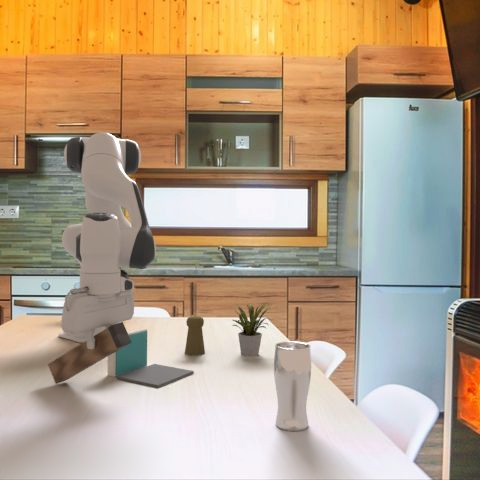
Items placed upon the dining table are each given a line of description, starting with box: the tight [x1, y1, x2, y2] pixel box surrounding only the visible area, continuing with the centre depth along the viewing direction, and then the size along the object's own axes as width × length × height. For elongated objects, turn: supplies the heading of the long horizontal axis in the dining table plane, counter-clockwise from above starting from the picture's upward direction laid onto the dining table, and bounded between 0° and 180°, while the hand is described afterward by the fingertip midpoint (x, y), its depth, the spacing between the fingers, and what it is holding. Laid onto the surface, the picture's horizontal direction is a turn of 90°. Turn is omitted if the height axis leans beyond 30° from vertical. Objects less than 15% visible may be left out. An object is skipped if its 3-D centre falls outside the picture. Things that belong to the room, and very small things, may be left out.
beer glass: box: [273, 341, 312, 432], centre depth 92 cm, size 7×7×15 cm
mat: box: [116, 363, 195, 389], centre depth 122 cm, size 13×14×1 cm
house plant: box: [230, 300, 277, 358], centre depth 146 cm, size 14×14×16 cm
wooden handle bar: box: [47, 321, 132, 385], centre depth 112 cm, size 22×4×5 cm, turn 65°
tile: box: [107, 327, 148, 378], centre depth 127 cm, size 3×12×10 cm, turn 150°
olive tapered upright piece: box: [184, 315, 206, 356], centre depth 147 cm, size 6×6×11 cm
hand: (99, 346), depth 110 cm, fingers closed on wooden handle bar, 3 cm apart
